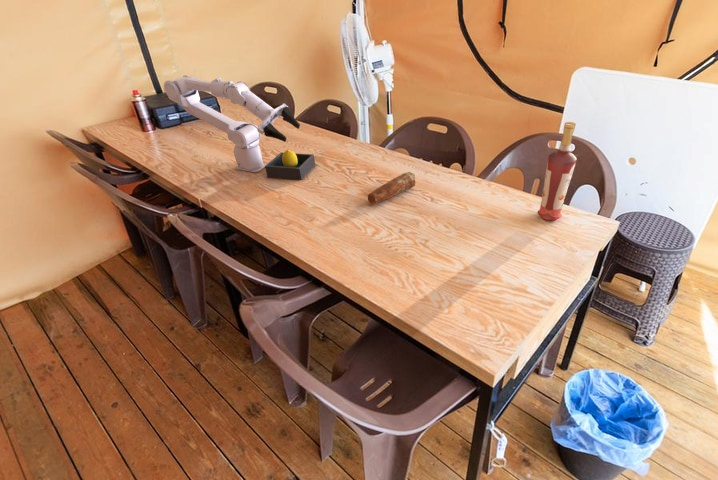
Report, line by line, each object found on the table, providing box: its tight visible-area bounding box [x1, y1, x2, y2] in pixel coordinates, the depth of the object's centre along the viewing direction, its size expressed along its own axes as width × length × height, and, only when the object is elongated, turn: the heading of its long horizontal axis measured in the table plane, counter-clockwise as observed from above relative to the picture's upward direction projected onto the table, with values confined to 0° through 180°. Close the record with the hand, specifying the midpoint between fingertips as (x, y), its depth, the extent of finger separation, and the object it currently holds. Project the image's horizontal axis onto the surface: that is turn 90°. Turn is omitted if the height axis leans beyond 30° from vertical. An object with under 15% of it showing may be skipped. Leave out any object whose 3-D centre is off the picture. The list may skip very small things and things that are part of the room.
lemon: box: [282, 149, 298, 167], centre depth 150 cm, size 6×6×8 cm
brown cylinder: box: [367, 171, 416, 205], centre depth 133 cm, size 6×19×6 cm, turn 133°
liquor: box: [537, 121, 577, 222], centre depth 112 cm, size 7×7×28 cm
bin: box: [264, 152, 316, 181], centre depth 151 cm, size 14×14×4 cm
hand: (292, 133), depth 141 cm, fingers open, 7 cm apart
